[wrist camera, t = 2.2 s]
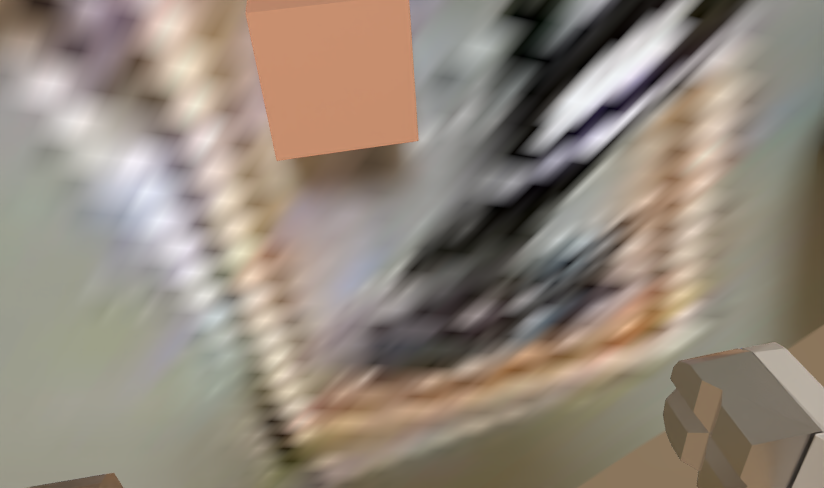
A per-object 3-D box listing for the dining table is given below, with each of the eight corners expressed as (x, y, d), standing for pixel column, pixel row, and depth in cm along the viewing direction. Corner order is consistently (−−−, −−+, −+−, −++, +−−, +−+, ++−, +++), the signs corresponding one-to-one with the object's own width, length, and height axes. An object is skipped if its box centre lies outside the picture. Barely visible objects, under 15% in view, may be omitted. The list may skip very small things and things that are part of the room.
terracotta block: (385, -39, 24) (408, -6, 20) (396, 89, 27) (418, 140, 23) (250, -24, 23) (245, 13, 19) (275, 105, 26) (276, 160, 22)
